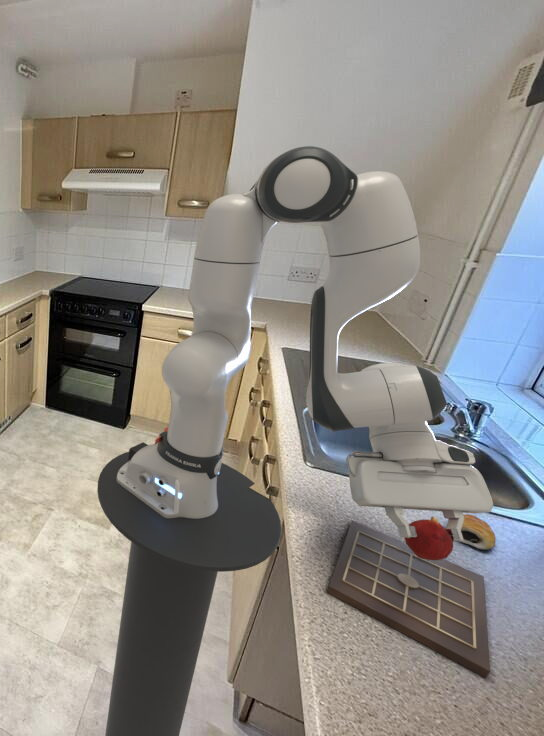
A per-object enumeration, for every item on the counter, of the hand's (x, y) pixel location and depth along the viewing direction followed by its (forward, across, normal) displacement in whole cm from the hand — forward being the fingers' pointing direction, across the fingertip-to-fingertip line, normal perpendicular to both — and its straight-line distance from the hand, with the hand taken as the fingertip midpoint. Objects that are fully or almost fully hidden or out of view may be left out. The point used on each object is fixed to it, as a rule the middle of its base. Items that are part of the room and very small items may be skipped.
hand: (432, 539), depth 67 cm
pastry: (-2, +22, +19) cm, 29 cm away
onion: (+3, 0, +4) cm, 5 cm away
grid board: (+8, 0, +8) cm, 11 cm away
